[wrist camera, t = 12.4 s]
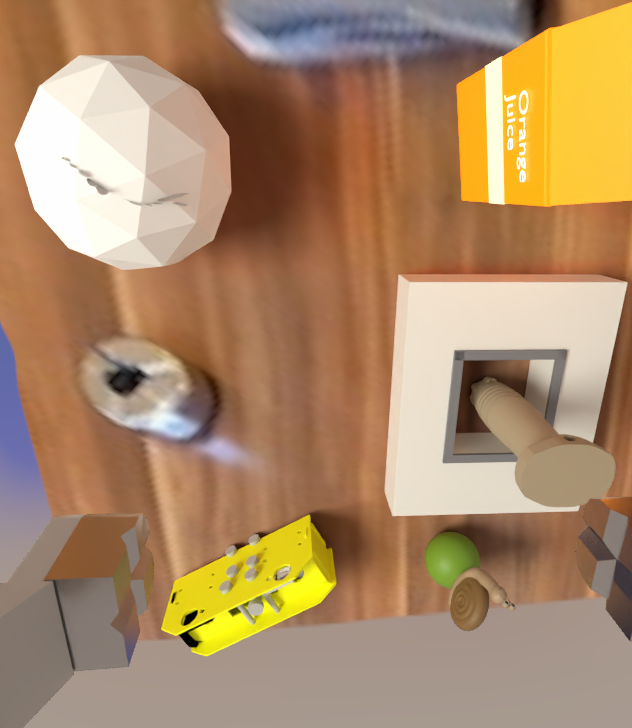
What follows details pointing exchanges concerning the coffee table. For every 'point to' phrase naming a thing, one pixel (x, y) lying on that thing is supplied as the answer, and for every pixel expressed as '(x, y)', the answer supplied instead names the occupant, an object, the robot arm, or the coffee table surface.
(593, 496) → the handle
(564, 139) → the orange juice
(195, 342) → the coffee table surface
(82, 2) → the coffee table surface
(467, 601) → the snail figurine
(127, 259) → the geodesic sphere
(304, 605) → the yellow toy chassis
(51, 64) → the coffee table surface
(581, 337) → the socket board
